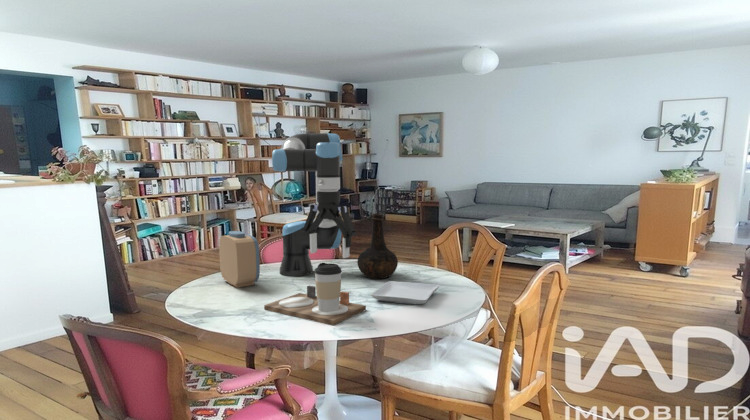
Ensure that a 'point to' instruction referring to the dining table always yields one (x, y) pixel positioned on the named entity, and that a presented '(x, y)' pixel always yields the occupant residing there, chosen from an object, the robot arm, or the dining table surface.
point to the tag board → (315, 307)
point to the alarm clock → (239, 259)
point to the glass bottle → (377, 254)
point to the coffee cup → (328, 286)
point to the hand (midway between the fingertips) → (329, 255)
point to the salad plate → (405, 292)
